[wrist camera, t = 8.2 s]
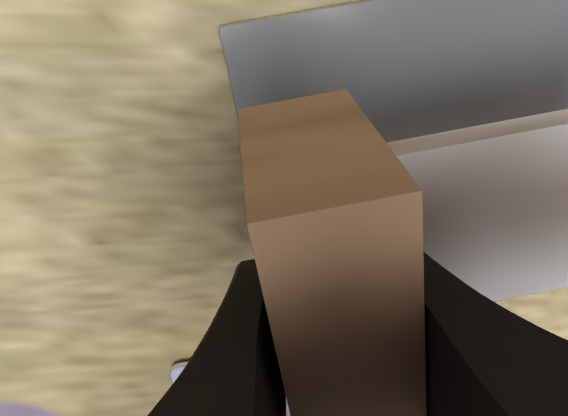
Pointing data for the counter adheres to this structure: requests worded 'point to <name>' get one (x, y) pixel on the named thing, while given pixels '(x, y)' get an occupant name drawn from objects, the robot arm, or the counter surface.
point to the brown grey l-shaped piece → (390, 238)
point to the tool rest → (409, 60)
